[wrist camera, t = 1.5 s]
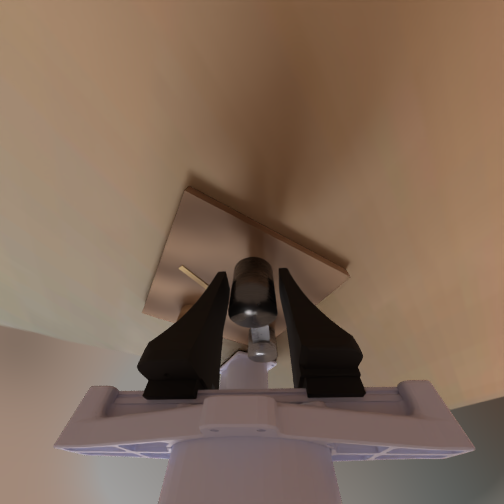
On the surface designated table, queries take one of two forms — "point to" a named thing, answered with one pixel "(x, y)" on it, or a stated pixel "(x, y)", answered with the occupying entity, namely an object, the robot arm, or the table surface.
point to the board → (229, 261)
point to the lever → (255, 306)
